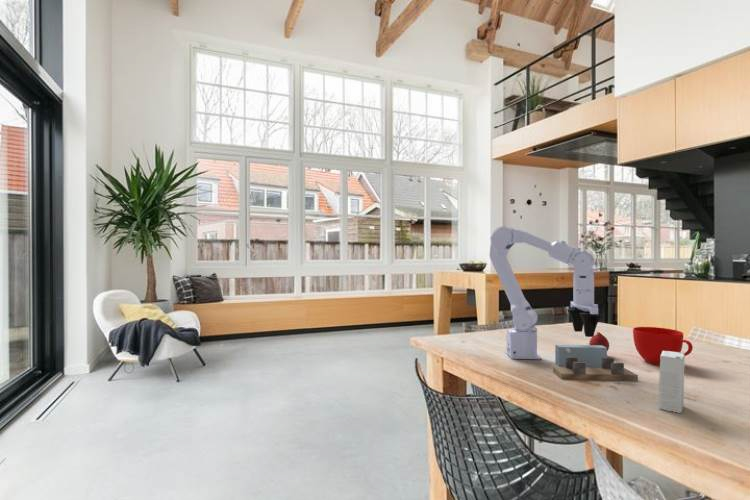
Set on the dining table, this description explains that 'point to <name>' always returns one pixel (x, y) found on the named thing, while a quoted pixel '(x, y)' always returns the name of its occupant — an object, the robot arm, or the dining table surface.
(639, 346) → the ceramic cup
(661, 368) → the skincare box
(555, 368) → the rail
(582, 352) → the pale blue rectangular block
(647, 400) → the dining table surface
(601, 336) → the onion
